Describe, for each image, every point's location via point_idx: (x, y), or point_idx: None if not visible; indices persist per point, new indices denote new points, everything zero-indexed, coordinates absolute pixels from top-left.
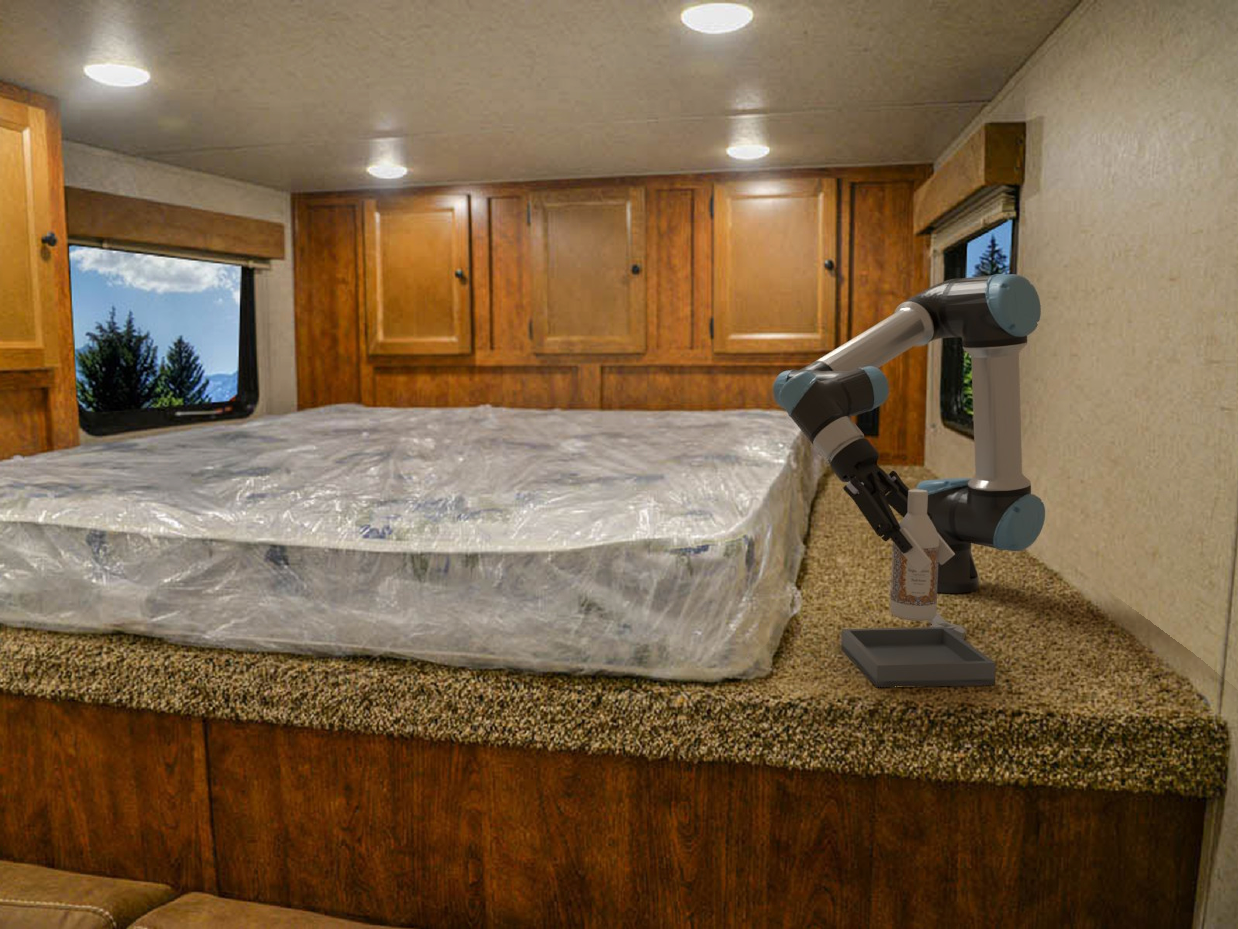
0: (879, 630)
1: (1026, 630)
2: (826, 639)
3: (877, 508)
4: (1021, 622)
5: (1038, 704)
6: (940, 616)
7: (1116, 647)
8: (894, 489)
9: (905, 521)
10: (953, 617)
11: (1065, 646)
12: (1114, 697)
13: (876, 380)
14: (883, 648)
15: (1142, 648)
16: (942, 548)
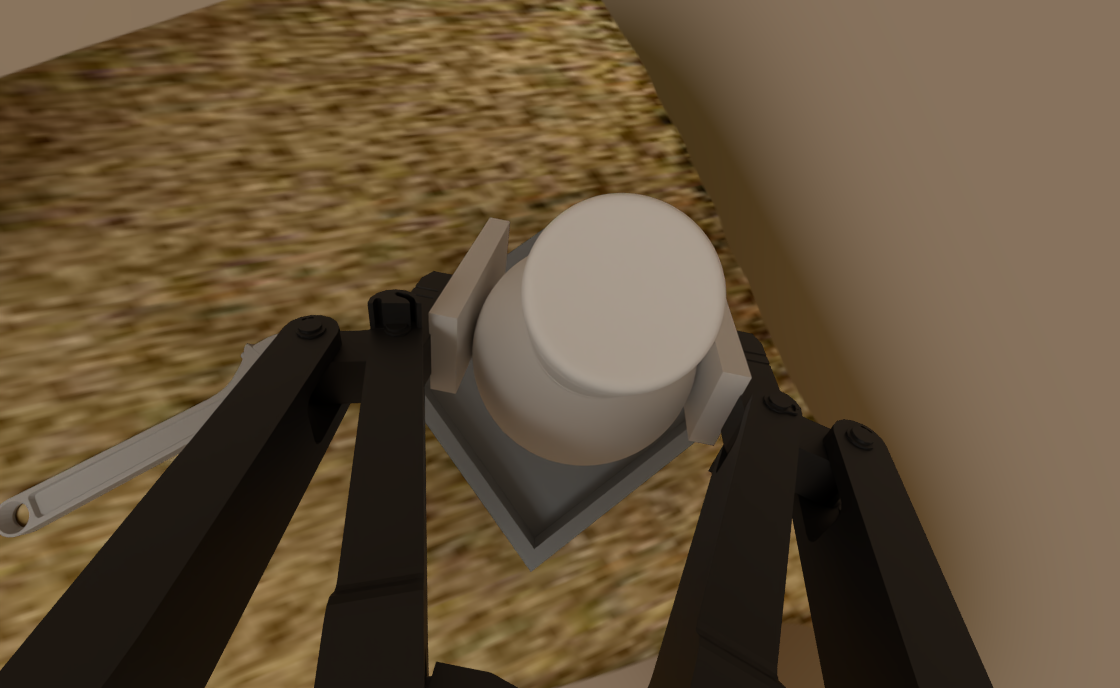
0: (487, 483)
1: (165, 228)
2: (478, 614)
3: (918, 564)
4: (99, 248)
5: (632, 141)
6: (179, 415)
7: (209, 57)
8: (421, 622)
9: (666, 389)
10: (129, 398)
11: (253, 142)
12: (524, 41)
13: None
14: (515, 459)
15: (191, 16)
16: (496, 260)
